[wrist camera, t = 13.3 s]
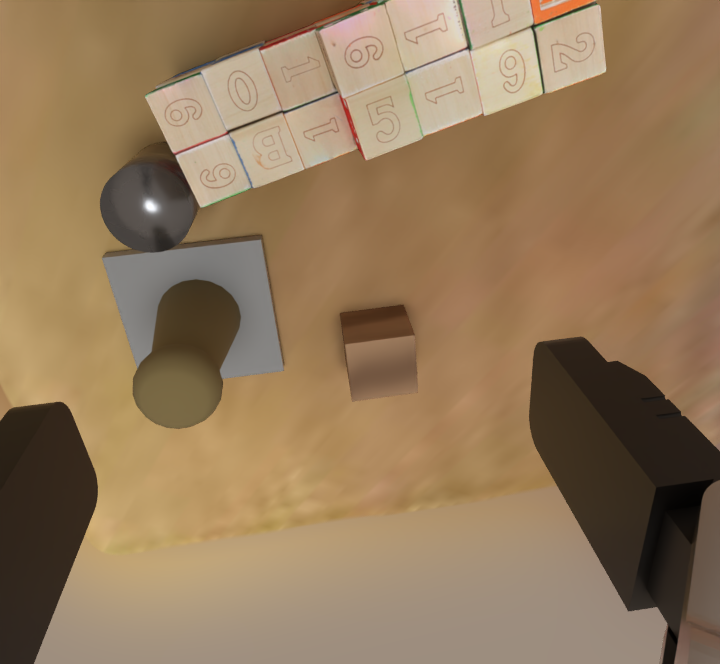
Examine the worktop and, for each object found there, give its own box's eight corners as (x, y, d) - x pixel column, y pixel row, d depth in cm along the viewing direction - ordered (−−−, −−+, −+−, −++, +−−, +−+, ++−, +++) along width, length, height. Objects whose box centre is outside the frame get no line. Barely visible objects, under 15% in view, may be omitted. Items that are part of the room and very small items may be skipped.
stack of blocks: (216, 169, 39) (189, 228, 29) (173, 74, 36) (123, 99, 26) (520, 56, 38) (611, 73, 27) (501, -53, 35) (595, -82, 24)
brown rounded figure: (242, 351, 45) (229, 443, 35) (161, 352, 44) (126, 446, 35) (239, 279, 42) (223, 357, 32) (152, 278, 41) (110, 359, 32)
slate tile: (105, 252, 41) (101, 258, 40) (261, 234, 42) (260, 239, 41) (146, 381, 46) (143, 388, 46) (284, 364, 47) (283, 370, 46)
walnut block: (340, 312, 45) (345, 344, 41) (402, 304, 46) (414, 335, 41) (346, 366, 48) (352, 401, 43) (406, 358, 48) (417, 392, 44)
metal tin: (120, 146, 38) (88, 172, 32) (198, 138, 38) (180, 162, 32) (141, 220, 40) (114, 257, 34) (213, 212, 40) (200, 247, 34)
